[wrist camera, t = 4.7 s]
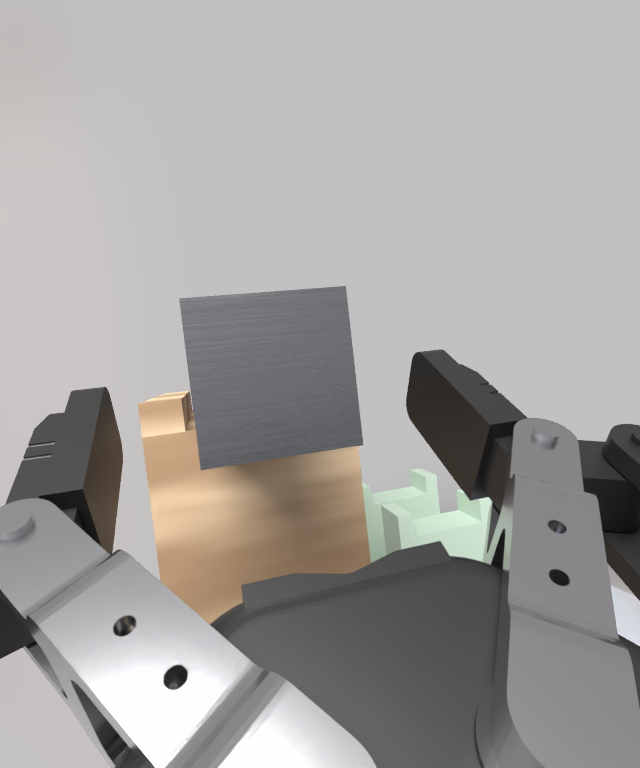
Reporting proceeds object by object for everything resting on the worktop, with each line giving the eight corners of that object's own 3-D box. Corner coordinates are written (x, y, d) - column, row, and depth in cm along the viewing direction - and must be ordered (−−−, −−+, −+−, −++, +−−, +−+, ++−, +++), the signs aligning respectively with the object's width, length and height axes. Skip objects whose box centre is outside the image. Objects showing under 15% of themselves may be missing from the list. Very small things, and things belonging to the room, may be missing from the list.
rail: (363, 445, 10) (345, 286, 10) (200, 470, 10) (179, 298, 9) (258, 400, 32) (252, 348, 32) (205, 406, 31) (198, 353, 31)
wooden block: (436, 1153, 20) (350, 378, 19) (248, 1259, 18) (138, 404, 17) (350, 869, 32) (293, 378, 30) (230, 915, 30) (164, 393, 28)
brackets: (541, 836, 32) (507, 500, 31) (435, 879, 30) (396, 522, 30) (445, 708, 45) (420, 465, 44) (367, 733, 43) (338, 479, 42)
